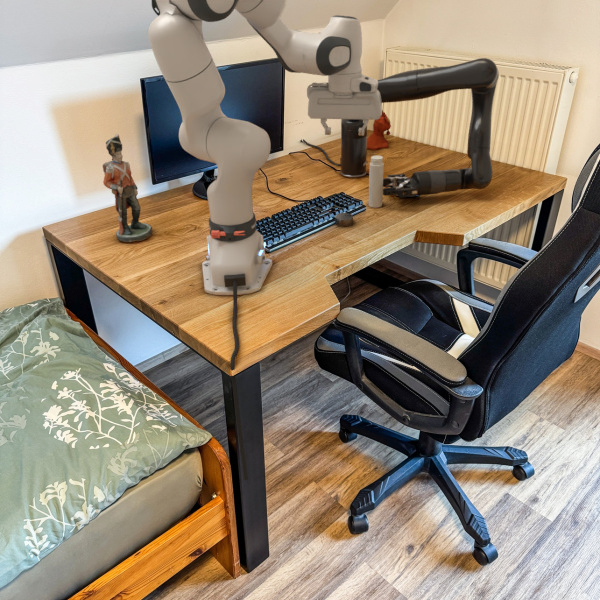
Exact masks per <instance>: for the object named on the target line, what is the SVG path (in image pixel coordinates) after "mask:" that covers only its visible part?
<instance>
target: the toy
mask: <svg viewBox="0 0 600 600" xmlns="http://www.w3.org/2000/svg"><path fill="white" fill-rule="evenodd" d="M391 127H392V125H391V119H390V117H388V116H387V114H386V112H384V110H383V109H382V115H381V117H380V118H379V119H378V120H373V124H372V134H369V136H367V150H373V151H378V150H381V149H386V148H389V140H388V139H386V137H385V135H386V136H390V135H391V131H390V130H391ZM385 132H386V133H385Z"/></svg>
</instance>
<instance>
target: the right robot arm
mask: <svg viewBox="0 0 600 600" xmlns="http://www.w3.org/2000/svg"><path fill="white" fill-rule="evenodd" d="M499 75H500V71H499V69H498V66H497V64H496V62H494V61H493V59H490V58H487V57H481V58H476V59H473V60H469V61H465V62H461V63H457V64H453V65H447V66H436V67H434V66H433V67H426V68H419V69H418V68H417V69H412V70H406V71H403V72H402V71H401V72H399V73H395V74H392V75H389V76H387V77H384V78H381V79H377V80H378V88H377V90H378V91H379V92H380V95H381V101H382V104H385V103H399V102H401V103H402V102H410V101H418V100H425V99H429V98H433V97H435V96H438V95H440V94H444V93H446V92H450V91H456V90H458V91H459V90H470V91H471V102H472V103H471V114H470V121H469V126H468V134H467V135H468V136H467V150H466V151H467V152H466V154H467V157H468V159H470V163H471V167H464V168H458V169H442V170H441V169H440V170H438V169H432V170H423V171H422V170H421V171H414V172H413V173H412V175H411V176H410V177H408V176H406V173H397V174H387V176H386V177H383V196H385V197H386V196H387V197H388V196H397V197H399V198H410V197H418V196H428V195H437V194H442V193H449V192H450V193H451V192H456V191H461V190H484V189H486V188H488V187H489V186H490V185H491V182H492V180H493V165H492V159H491V141H492V113H493V112H492V111H493V103H494V97H495V92H496V88H497V83H498V81H499ZM364 124H365V123H363V119H340V158H339V159H340V160H339V163H337V162H334V161H333V160H332V159H331V158H329V157H328V153H327V152H326V150H324V148H322V147H320V146H318V145H315V144H312V143H309V142H308V141H306V140H305V139H304V138H302V139H303V141H302V139H301V140H300V141H299V142H300V143H302V142H303V143H304V144H305V145H307V146H309V147H311V148H314V149H317V150H319V151H321V152H322V154H324V156H325V159H326V160H327V162H329V163H330V164H332V165H334V166H337V167H340V176H342V177H345V178H350V179H356V178H362V177H365V176H366V175H367V164H368V160H367V155H368V154H367V153H368V152H367V150H368V149H367V138H368V125H367V126H366V127H365V129H364V136H359V135H358V133H359V128H362V127H363V125H364ZM385 186H390V187H385Z"/></svg>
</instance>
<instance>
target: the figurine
mask: <svg viewBox="0 0 600 600" xmlns="http://www.w3.org/2000/svg"><path fill="white" fill-rule="evenodd" d="M105 148H106V150H107V153H108V155H110V156H111V160H110V161H107V162H104V163H103V164H102V170H103V173H104V177H103V185H104V186H105V188H107V189H109V190H111V194H112V195H114V198H115V201H114V204H115V206H114V209H115V211H116V212H117V213H118V216H117V221H118V222H119V228H118V230H117V231H116V233H115V234H116V239H117V240H118V241H119V242H124V243H132V242H133V243H134V242H135V241H136V242H140V241H145V240H146V239H148V238H150V237H151V236H152V235H153V227H152V225H150V224H148V223H146V222H140V215H141V208H142V207H141V204H140V202H139V199H138V198H137V197H138V194H139V191H138V188H139V187H138V186H137V184H136V183H135V180H134V178H133V177H132V170H131V165H130V162H129V161H124V160H123V157H124V156H123V154H122V151H123V143H122V141H121V138H120V135H119V133H116V134H115V135H114V136H113V137H111V138H110V139H108V140H106V142H105ZM129 208H130V209H131V217H132V220H131V222H130V224H128V210H129Z"/></svg>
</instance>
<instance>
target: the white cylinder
mask: <svg viewBox="0 0 600 600" xmlns="http://www.w3.org/2000/svg"><path fill="white" fill-rule="evenodd" d="M384 169H385V163H384V156H382V155H377V154H376V155H372V156H371V157H370V162H369V173H368V207H370V208H374V209H375V208H381V207H383V196H384V195H383V189H384V186H383V178H384V175H385V174H384V173H385V170H384Z"/></svg>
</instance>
